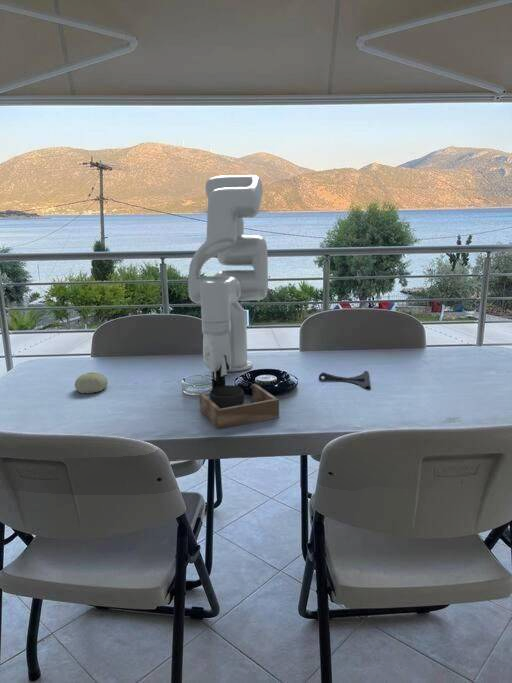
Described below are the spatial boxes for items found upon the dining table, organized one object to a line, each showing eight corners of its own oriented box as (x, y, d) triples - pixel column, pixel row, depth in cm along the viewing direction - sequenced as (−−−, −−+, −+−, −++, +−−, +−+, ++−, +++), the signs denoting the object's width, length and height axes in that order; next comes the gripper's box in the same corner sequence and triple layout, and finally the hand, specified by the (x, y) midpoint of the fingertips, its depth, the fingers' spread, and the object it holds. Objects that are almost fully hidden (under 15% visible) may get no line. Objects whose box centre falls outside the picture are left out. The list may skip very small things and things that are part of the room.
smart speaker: (248, 408, 124) (247, 393, 123) (214, 412, 121) (213, 397, 120) (238, 396, 132) (238, 382, 131) (206, 400, 129) (206, 386, 128)
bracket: (320, 374, 152) (320, 365, 151) (368, 376, 149) (369, 367, 149) (317, 389, 138) (317, 380, 138) (370, 391, 135) (371, 382, 135)
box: (200, 409, 123) (199, 393, 122) (256, 399, 129) (255, 383, 128) (218, 429, 111) (217, 410, 110) (279, 417, 117) (278, 399, 116)
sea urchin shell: (116, 379, 143) (102, 366, 137) (106, 403, 140) (92, 391, 133) (90, 376, 146) (75, 363, 140) (80, 400, 142) (64, 388, 136)
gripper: (194, 323, 133) (197, 386, 137) (211, 333, 120) (215, 403, 124) (220, 320, 136) (222, 383, 140) (240, 330, 123) (242, 399, 127)
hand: (218, 392), depth 132 cm, fingers closed
